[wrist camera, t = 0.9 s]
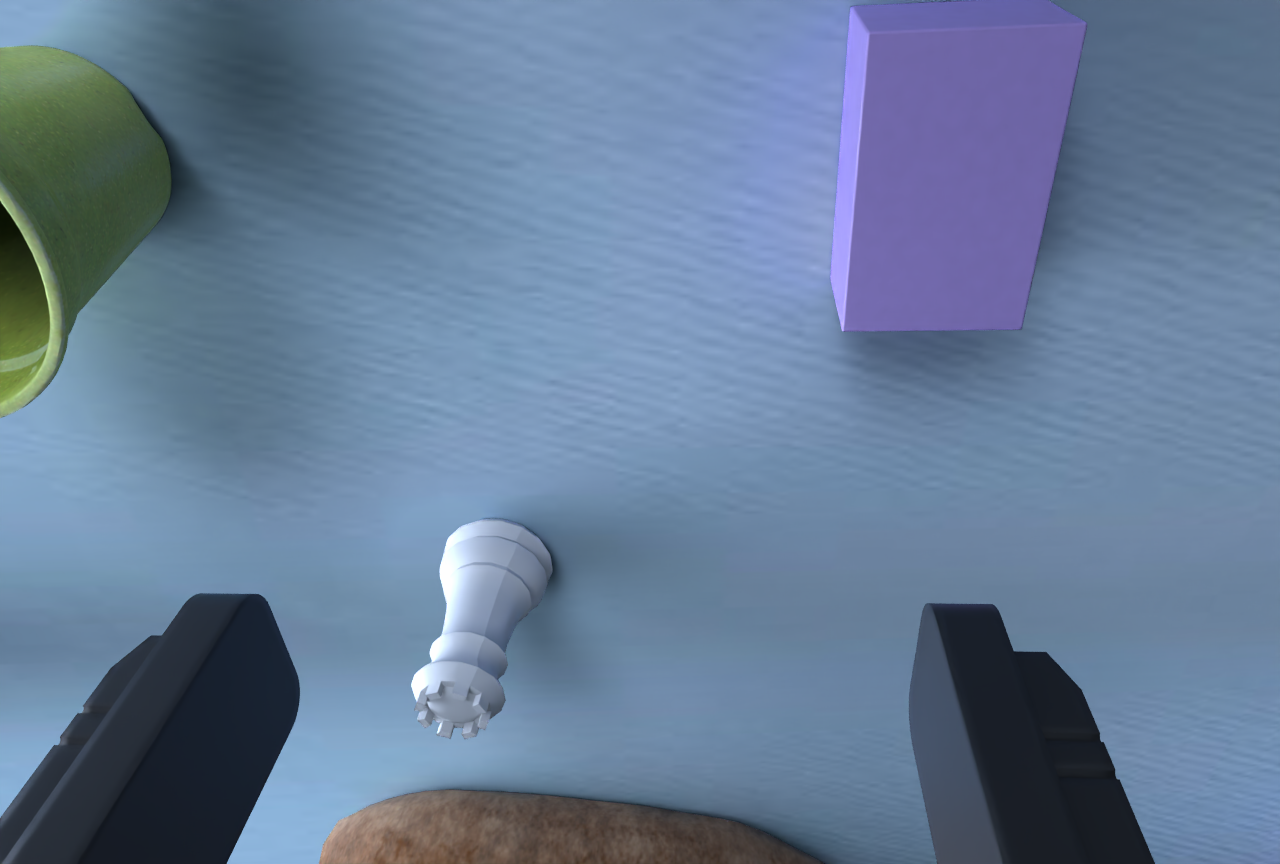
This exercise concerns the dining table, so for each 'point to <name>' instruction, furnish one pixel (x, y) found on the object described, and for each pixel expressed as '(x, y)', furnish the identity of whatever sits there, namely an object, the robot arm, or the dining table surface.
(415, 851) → the bread
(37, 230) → the plant pot
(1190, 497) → the dining table surface
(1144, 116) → the dining table surface
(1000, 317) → the lavender block
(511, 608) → the rook chess piece
